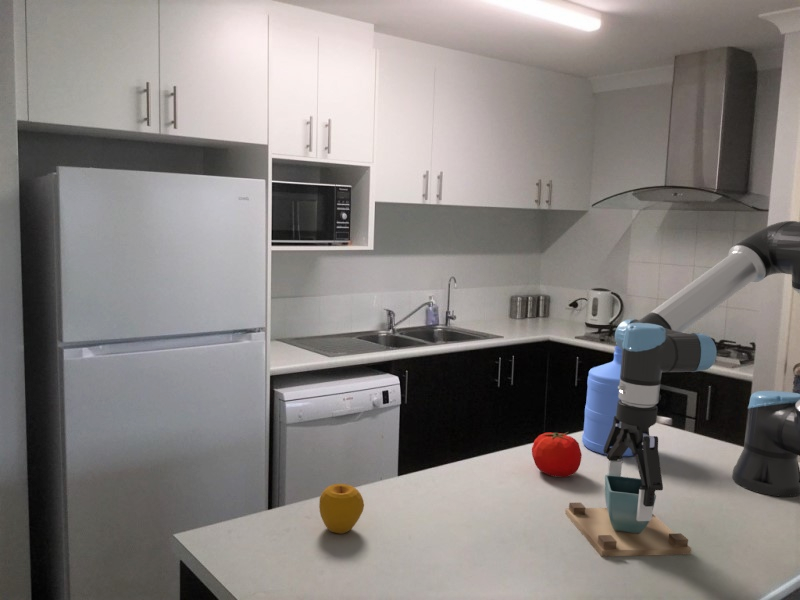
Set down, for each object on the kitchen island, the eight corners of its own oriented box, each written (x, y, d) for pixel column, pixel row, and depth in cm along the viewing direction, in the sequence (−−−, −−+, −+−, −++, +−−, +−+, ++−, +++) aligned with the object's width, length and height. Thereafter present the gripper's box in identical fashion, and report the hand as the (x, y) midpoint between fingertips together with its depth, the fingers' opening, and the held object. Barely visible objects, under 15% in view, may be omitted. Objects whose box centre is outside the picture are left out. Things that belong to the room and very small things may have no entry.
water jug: (632, 462, 181) (643, 356, 177) (573, 448, 189) (582, 347, 185) (647, 446, 194) (657, 347, 190) (592, 434, 202) (600, 339, 198)
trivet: (644, 512, 151) (645, 500, 150) (690, 554, 133) (692, 540, 133) (565, 513, 148) (566, 501, 148) (601, 556, 131) (602, 542, 130)
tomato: (586, 472, 172) (589, 432, 171) (570, 487, 163) (574, 444, 161) (540, 461, 179) (543, 422, 177) (522, 474, 169) (526, 433, 168)
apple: (368, 524, 139) (370, 482, 137) (351, 543, 131) (353, 498, 130) (329, 516, 141) (331, 474, 140) (310, 534, 133) (312, 490, 132)
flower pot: (652, 540, 135) (656, 496, 134) (605, 534, 137) (609, 491, 136) (644, 520, 144) (649, 479, 143) (600, 515, 145) (604, 474, 144)
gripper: (593, 385, 149) (584, 480, 152) (651, 422, 124) (639, 534, 127) (626, 385, 150) (617, 479, 153) (690, 422, 125) (677, 533, 128)
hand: (627, 505), depth 140 cm, fingers open, 13 cm apart
